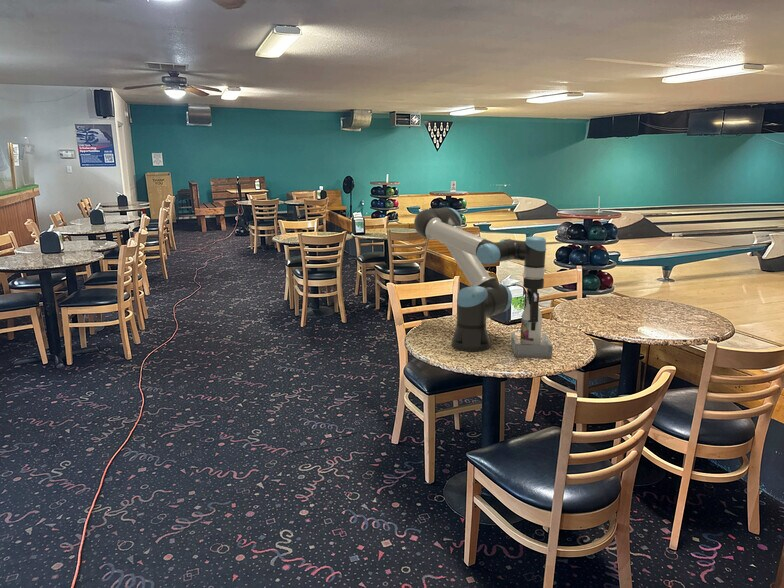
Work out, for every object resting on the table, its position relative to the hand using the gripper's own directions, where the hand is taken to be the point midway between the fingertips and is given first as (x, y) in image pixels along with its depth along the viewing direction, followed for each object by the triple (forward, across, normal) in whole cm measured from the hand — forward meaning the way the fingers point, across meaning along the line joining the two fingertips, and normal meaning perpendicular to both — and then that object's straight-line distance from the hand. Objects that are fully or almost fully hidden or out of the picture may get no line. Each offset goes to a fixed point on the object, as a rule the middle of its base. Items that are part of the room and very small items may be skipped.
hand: (530, 334), depth 205 cm
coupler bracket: (+6, -1, 0) cm, 6 cm away
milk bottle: (+4, 0, 0) cm, 4 cm away
